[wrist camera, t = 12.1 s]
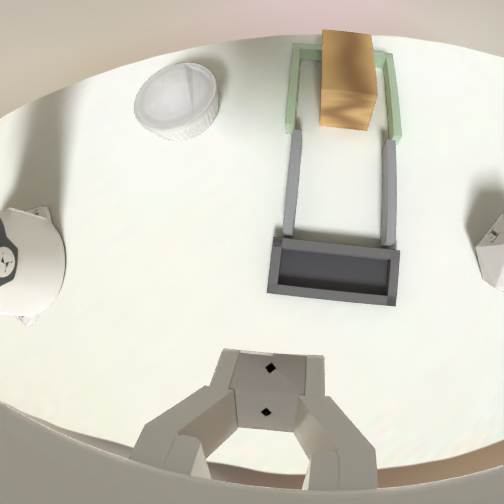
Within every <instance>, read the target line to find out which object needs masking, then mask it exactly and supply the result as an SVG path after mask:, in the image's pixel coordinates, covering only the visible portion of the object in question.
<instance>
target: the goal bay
mask: <svg viewBox="0 0 504 504" xmlns="http://www.w3.org/2000/svg"><path fill="white" fill-rule="evenodd" d="M373 53H374V62H375V67H378V68H383V69H384V78H385V87H386V98H387V110H388V125H389V140H395V144H396V146H397V145H398V143H399V141H400V139H401V137H402V132H401V119H400V108H399V99H398V90H397V82H396V74H395V67H394V61H393V55H392V54H390V53H384V52H378V51H373ZM301 60H314V61H322V45H313V44H293V50H292V60H291V71H290V81H289V91H288V101H287V111H286V121H285V126H286V133H287V134H292V133H293V129H295V125H296V113H297V101H298V89H299V76H300V63H301Z"/></svg>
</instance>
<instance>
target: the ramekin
mask: <svg viewBox="0 0 504 504" xmlns="http://www.w3.org/2000/svg"><path fill="white" fill-rule="evenodd" d="M218 108H219V101H218V83H217V80H216V78H215V76H214V74H213V73H212V71H211V70H210V69H208V68H207V67H205V66H203V65H201V64H198V63H192V62H184V63H177V64H173V65H170V66H168V67H165V68H163V69H161V70H160V71H158V72H157V73H155V74H154V75H152V76H151V77H150V78H149V79H148V80H147V81H146V82H145V83H144V84H143V86H142V87H141V88H140V90H139V92H138V94H137V96H136V99H135V103H134V113H135V116H136V118H137V120H138V122H139V123H140V124H141V125H142V126H143V127H144V128H146V129H147V130H149V131H151V132H154V133H155V134H157V135H158V136H160V137H162V138H163V139H166V140H169V141H176V142H177V141H185V140H189V139H192V138H194V137H196V136H198V135H200V134H201V133H203V132H204V131H205V130H206V129H207V128H208V127H209V126H210V125H211V124H212V123H213V121H214V119H215V118H216V116H217V112H218Z"/></svg>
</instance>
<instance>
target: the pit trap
mask: <svg viewBox="0 0 504 504" xmlns="http://www.w3.org/2000/svg"><path fill="white" fill-rule="evenodd" d="M399 260H400V251H399V250H390V249H381V248H372V247H363V246H354V245H345V244H335V243H326V242H317V241H307V240H297V239H287V238H277V237H274V238H273V246H272V254H271V263H270V271H269V279H268V287H267V293H272V294H280V295H289V296H298V297H306V298H316V299H325V300H334V301H344V302H354V303H365V304H376V305H387V306H396V296H397V286H398V274H399Z"/></svg>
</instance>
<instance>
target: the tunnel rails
mask: <svg viewBox="0 0 504 504" xmlns="http://www.w3.org/2000/svg"><path fill="white" fill-rule="evenodd" d="M301 149H302V130H298V129H293V133H292V143H291V153H290V163H289V173H288V183H287V193H286V202H285V211H284V220H283V229H282V231H283V234H284V236H287V237H293V233H294V224H295V214H296V204H297V194H298V183H299V172H300V161H301ZM396 211H397V174H396V144H395V140H389V139H387V141H386V143H385V145H384V147H383V149H382V222H381V242H380V246H381V247H390V246H391V245H393V244H394V243H395V241H396Z"/></svg>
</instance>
